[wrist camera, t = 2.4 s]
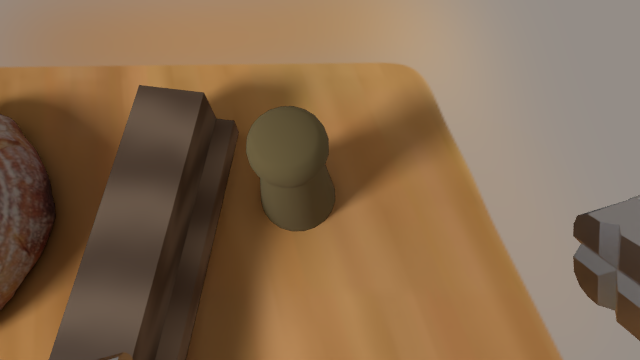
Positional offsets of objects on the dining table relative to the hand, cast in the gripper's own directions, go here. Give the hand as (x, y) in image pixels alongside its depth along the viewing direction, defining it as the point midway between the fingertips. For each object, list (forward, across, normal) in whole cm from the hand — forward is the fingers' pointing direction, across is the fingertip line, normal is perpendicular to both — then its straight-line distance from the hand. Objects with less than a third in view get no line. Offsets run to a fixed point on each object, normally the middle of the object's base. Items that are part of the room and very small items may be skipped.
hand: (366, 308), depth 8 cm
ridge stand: (+26, +12, +13) cm, 31 cm away
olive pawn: (+28, 0, +11) cm, 30 cm away
